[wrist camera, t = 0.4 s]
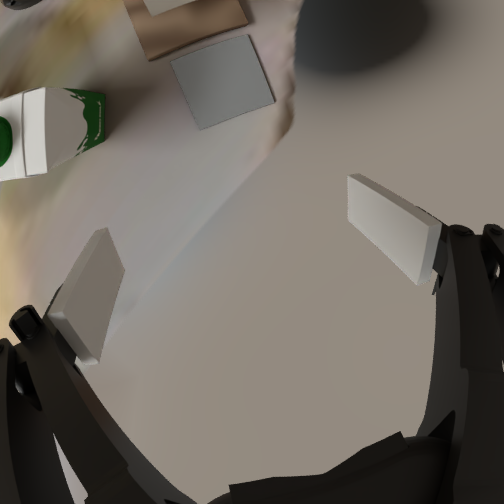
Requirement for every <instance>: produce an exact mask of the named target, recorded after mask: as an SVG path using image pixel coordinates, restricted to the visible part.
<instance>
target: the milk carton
mask: <svg viewBox="0 0 504 504" xmlns="http://www.w3.org/2000/svg"><path fill="white" fill-rule="evenodd" d="M39 88H40V89H39ZM35 89H36V90H35ZM32 90H33V91H32ZM28 91H29V92H28ZM24 92H26V93H24ZM104 119H105V94H100V93H95V92H90V91H85V90H78V89H68V88H46V87H44V88H42V87H37V88H33V89H29V90H26V91H23V92H20V93H18V94H15V95H12V96H9V97H7V98H4V99H2V100H0V181H5V180H12V179H18V178H27V177H33V176H38V175H41V174H43V173H47V172H48V171H49V170H50V169H51V168H54V167H55V166H57V165H59V164H61V163H63V162H65V161H67V160H69V159H71V158H73V157H75V156H77V155H79V154H81V153H83V152H84V151H86V150H88V149H90V148H92V147H94V146H96V145H98V144H100V143H102V142H104V141H105V138H104Z"/></svg>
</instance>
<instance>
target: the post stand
mask: <svg viewBox="0 0 504 504" xmlns="http://www.w3.org/2000/svg"><path fill="white" fill-rule="evenodd" d="M123 2H124V4H125V7H126V9H127V12H128V14H129V17H130V19H131V21H132V24H133V26H134V29H135V31H136V33H137V36H138V38H139V41H140V43H141V45H142V48H143V50H144V52H145V55H146V57H147V59H148V60H149V61H151V60H153V59H155V58H158V57H160V56H162V55H164V54H167V53H169V52H171V51H174V50H176V49H178V48H181V47H183V46H186V45H188V44H191V43H194V42H196V41H199V40H202V39H205V38H208V37H211V36H214V35H217V34H220V33H223V32H226V31H230V30H233V29H236V28H240V27H244V26H247V24H248V21H247V19H246V17H245V14H244V12H243V10H242V8H241V6H240V4H239V2H238V0H195V1H192V2H189V3H186V4H184V5H181V6H178V7H175V8H173V9H170V10H168V11H165V12H163V13H160V14H158V15H155V16H153V17H152V16H151V14H150V12H149V10H148V8H147V6H146V5H145V3H144V1H143V0H123Z"/></svg>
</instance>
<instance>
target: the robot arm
mask: <svg viewBox="0 0 504 504" xmlns="http://www.w3.org/2000/svg"><path fill="white" fill-rule="evenodd" d="M0 1H1V3H2V4H3V5H4V6H5V7H8V8H10V9H13V10H21V9H25V8H28V7H30V6H32V5H34V4H36V3H38V2H40V1H41V0H0ZM347 178H348V221H349V222H351V223H352V224H353V225H354V226H355V227H356V228H357V229H359V230H360V231H361V232H362V233H363V234H364V235H365V236H366V237H367V238H368V239H369V240H371V241H372V242H373V243H374V244H375V245H376V246H377V247H378V248H379V249H380V250H381V251H382V252H383V253H385V254H386V255H387V256H388V257H389V258H390V259H391V260H392V261H393V262H394V263H395V264H396V265H397V266H398V267H399V268H400V269H401V270H402V271H403V272H404V273H405V274H406V275H407V276H408V277H409V278H410V279H411V280H412V281H413V282H414V283H415V284H416V285H417V286H418V285H420V284H423V283H425V282H428V281H430V277H431V273H432V269H434V270H435V271H436V272H437V273H438V275H437V279H436V282H435V286H434V289H433V293H432V295H434V294H435V292H436V328H435V344H434V355H433V366H432V373H431V381H430V389H429V394H428V401H427V406H426V411H425V415H424V419H423V421H422V423H421V425H420V427H419V429H418V432H417V434H416V436H413V437H406V438H404V437H403V435H402V433H401V431H399V432H397V433H395V434H393V435H392V436H389V437H387V438H385V439H383V440H381V441H378V442H376V443H374V444H372V445H370V446H367V447H365V448H363V449H361V450H360V451H359V452H357V453H356V454H355V455H353V456H351V457H350V458H348V459H347V460H346V461H344V462H342V463H341V464H339V465H338V466H336V467H334V468H333V469H331V470H330V471H328V472H326V473H324V474H320V475H310V476H294V477H293V476H292V477H271V478H266V479H261V480H256V481H251V482H245V483H239V484H232V485H229V489H230V492H229V493H226V494H223V495H222V496H220V497H217V498H215V499H214V500H212V501H211V502H209V503H208V504H504V372H503V367H502V360H503V363H504V229H502V228H501V227H500V226H498V225H495V224H487V225H485V226H484V230H483V234H482V235H475V234H474V232H473V231H472V230H471V229H469V228H467V227H465V226H462V225H451V226H447V225H446V224H444V223H443V222H441V221H440V220H438V219H437V218H435V217H434V216H432V215H431V214H429V213H426V211H425V210H423V209H421V208H420V207H417V206H415V205H413V204H412V203H410V202H408V201H407V200H405V199H403V198H402V197H400V196H398V195H397V194H395V193H393V192H392V191H390V190H388V189H386V188H385V187H383V186H381V185H379V184H377V183H376V182H374V181H372V180H370V179H368V178H366V177H365V176H363V175H361V174H352V175H348V176H347ZM498 266H499V267H500V273H499V277H497V275H496V272H497V269H498ZM124 272H125V269H124V267H123V265H122V262H121V260H120V258H119V255H118V253H117V251H116V248H115V246H114V243H113V241H112V238H111V236H110V233H109V231H108V228H104V229H101V230H97V231H95V232H94V234H93V235H92V237H91V238H90V240H89V242H88V243H87V245H86V246H85V248H84V249H83V251H82V253H81V254H80V256H79V257H78V259H77V261H76V262H75V264H74V266H73V268H72V269H71V271H70V273H69V274H68V276H67V278H66V280H65V281H64V283H63V284H62V285H61V286H60V287H59V288H58V290H57V291H56V293H55V295H54V297H53V299H52V300H51V302H50V305H49V306H48V308H47V310H46V312H45V314H44V316H43V318H42V319H41V318H40V316H39V315H38V313H37V312H36V310H35V308H34V307H33V306H32V305H26V306H23V307H22V308H20V309H19V310H18V311H17V312H15V314H14V315H13V316H12V318H11V320H10V322H9V326H10V328H11V329H12V331H13V332H14V333H15V335H16V336H17V337H18V339H19V340H20V341H21V343H19V344H17V345H15V346H13V345H12V344H11V343H10V342H9V340H8V339H7V338H3V339H0V504H74V501H73V498H72V495H71V493H70V490H69V487H68V484H67V481H66V478H65V475H64V472H63V469H62V466H61V462H60V459H59V455H58V452H57V447H56V443H55V440H54V435H55V437H56V439H57V441H58V443H59V445H60V447H61V449H62V451H63V453H64V455H65V456H66V458H67V460H68V462H69V464H70V465H71V467H72V469H73V470H74V472H75V473H76V475H77V477H78V479H79V480H80V482H81V483H82V485H83V486H84V488H85V490H86V491H87V493H88V497H87V498H86V499H85V500H84V501H85V504H197V503H196V502H195V501H193V500H192V499H190V498H189V497H188V496H186V495H185V494H183V493H182V492H181V491H179V490H178V489H177V488H175V487H174V486H173V485H172V484H171V483H170V482H169V481H168V480H167V479H165V477H164V476H163V475H162V474H161V473H160V472H159V471H158V470H157V469H156V468H155V467H154V466H153V465H152V464H151V463H150V462H149V461H148V460H147V459H146V458H145V456H144V455H143V454H142V453H141V452H140V451H139V450H138V449H137V448H136V446H135V445H134V444H133V443H132V442H131V441H130V440H129V438H128V437H127V436H126V434H125V433H124V432H123V431H122V430H121V428H120V427H119V426H118V424H117V423H116V422H115V421H114V419H113V418H112V417H111V415H110V414H109V413H108V411H107V410H106V409H105V407H104V406H103V404H102V403H101V402H100V400H99V399H98V398H97V396H96V394H95V393H94V391H93V390H92V388H91V387H90V385H89V384H88V382H87V380H86V379H85V377H84V376H83V374H82V372H81V371H80V369H79V368H78V367H77V365H76V364H75V359H76V356H77V357H78V358H79V359H80V360H81V362H82V363H83V364H84V365H89V364H99V361H100V357H101V353H102V349H103V345H104V341H105V337H106V333H107V329H108V325H109V321H110V318H111V314H112V311H113V307H114V304H115V301H116V297H117V294H118V291H119V288H120V284H121V281H122V278H123V275H124ZM18 391H19V392H18ZM53 433H54V435H53Z"/></svg>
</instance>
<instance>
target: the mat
mask: <svg viewBox="0 0 504 504" xmlns="http://www.w3.org/2000/svg"><path fill="white" fill-rule="evenodd" d="M170 63H171V65H172V68H173V70H174V72H175V75H176V77H177V79H178V82H179V84H180V86H181V89H182V91H183V93H184V96H185V98H186V100H187V102H188V105H189V107H190V109H191V112H192V114H193V116H194V119H195V121H196V123H197V126H198V128H199V130H202V129H205V128H207V127H209V126H212V125H214V124H217V123H219V122H222V121H224V120H227V119H230V118H232V117H235V116H237V115H240V114H243V113H246V112H248V111H251V110H254V109H257V108H260V107H263V106H266V105H269V104H272V103H275V102H274V100H273V97H272V94H271V91H270V89H269V86H268V84H267V81H266V78H265V76H264V73H263V71H262V68H261V66H260V63H259V61H258V58H257V56H256V53H255V51H254V49H253V46H252V44H251V42H250V39H249V37H248V35H243V36H240V37H236V38H233V39H230V40H226V41H223V42H220V43H217V44H214V45H211V46H208V47H206V48H203V49H200V50H197V51H195V52H192V53H190V54H187V55H185V56H182V57H180V58H177V59H175V60H173V61H170Z"/></svg>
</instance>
